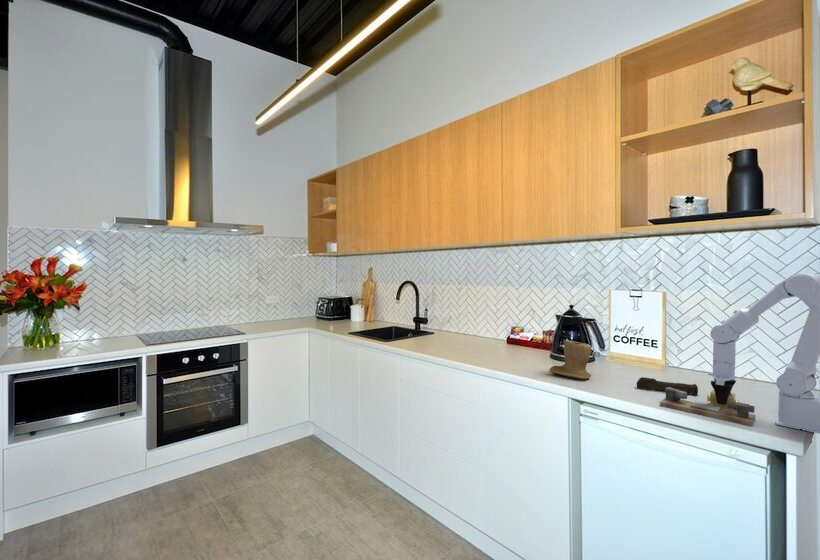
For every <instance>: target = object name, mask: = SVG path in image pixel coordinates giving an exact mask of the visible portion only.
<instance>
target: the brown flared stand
mask: <svg viewBox="0 0 820 560" xmlns="http://www.w3.org/2000/svg"><path fill="white" fill-rule="evenodd" d="M591 353H592V347H591V345H590V344H588V343H584V342H578V341H574V340H566V342H565V343H564V345H563V356H564V364H562V365H553V366H551V367H550V368H549V370H548V371H549V373H552V374H555V375H559V376H564V377H568V378H574V379H579V380H580V379H583V380H586V379H590V378H591V377H592V374H591V373H590V372H588V371H587V364H588V363H589V360H590V357H591Z"/></svg>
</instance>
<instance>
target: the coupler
mask: <svg viewBox="0 0 820 560" xmlns="http://www.w3.org/2000/svg"><path fill="white" fill-rule="evenodd" d="M736 395H737V394H736V393H729V395H728V400H727V403H726V405H722V404H718V403H717V400H716V395H715V391H714V389H712V390H711V392H710V394H707V395H706V401H707V402H710V404H709V405H713V406H717V407H721V408H724V409H729V410H734V411H735V409H731V408H728V401H730V402H735V403H740V401H739V400H737V398H736V397H737V396H736Z"/></svg>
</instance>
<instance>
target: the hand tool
mask: <svg viewBox="0 0 820 560" xmlns="http://www.w3.org/2000/svg"><path fill="white" fill-rule="evenodd" d="M668 387H671V388H674V389H678V390H681V391H684V392H687V395H694V396H695V397H697V396H698V394H699V392H698V391H699V387H698V384H697V383H692V384H690V383H683V382H669V381H668V382H667V381H661V380H657V379H656V378H650V377H640V378H639V379H638V380H637V382H636V388H637V389H639V390H644V389H646V391H651V390H655V391H664V392H665V388H668Z"/></svg>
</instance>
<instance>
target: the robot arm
mask: <svg viewBox="0 0 820 560" xmlns="http://www.w3.org/2000/svg"><path fill="white" fill-rule="evenodd" d="M795 297H796V298H798V299H800V300H801V301H802V302H803V303H804V304H805V305H806V306H807V307H808V308H809V312H808V315H807V318H806V320H805V323H804V325H803V329H802V330H801V333H800V335H799V339H798V342H797V345H796V347H795V350H794V352H793V355H792V358H791V360H790V362H789V363H788V365H787V366H786V367H785V370H784V372H783V373H781V374H780V375H779V376H778V377H777V378H776V383H775V384H776V387H777V388H778V389H779V390H778V408H777V409H778V410H777V411H778V412H777V413H778V414H777V416H776V419H775V423H774V424H775V425H778V426H781V427H785V428H786V427H787V428H791V429H797V430H800V429H802V430H801V431H805V430H806V432H810V433H813V434H814V433H815V434H819V435H820V398H817V397H815V394H814V393H813V392H812V391H813V390H814V389H815V388H816V386H817V379H816V373H817V363H818V361H819V358H820V275H819V274H816V273H794V274H792V275H790V276H789V277H787V279H786V280H785V279H784V280H783V281H781V282H779V283H778V284H776V285H775V286H774V287H772V289H770V290H769V291H768V292H767V293H766V294H764V295H763V296H762V297H760V299H758V300H757V301H756V302H755V303H754V304H752V305H751V306H750V307H748V308H744V307H742V308H740V309H735V310H733V312H732V315H731V316H729V317H728V318H727V319H724V320H722V321H720V323H721V324H719V325H714V326H713V328H712V329H711V330H710V334H709V335H710V337H711V339H712V340H713V344H712V345H713V349H712V371H709V372H707V375H708V376H712V377H713V380H711V381H710V384H711V386H712V390H714V391H715V395H716V400H717V403H718V404H722V405H726V403H727V400H728V395H729V393H731V392H732V390H733V387H734V385H735V384H736V383H737V380H736V379H737V377H736V351H737V350H736V342H737V341H738V340H739V338H740V336H741V335H742V334H744V333H746V332H747V331H748V330H750V329H751V328H752V327H754V326H755V325H756V324H758V323H759V320H760V316H761V315H762V314H764V313H765V312H767V311H768V310H769V309H771V308H773V307H774V306H776V305H777V304H778V303H780V302H782V301H783V300H786V299H790V298H795Z"/></svg>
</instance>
